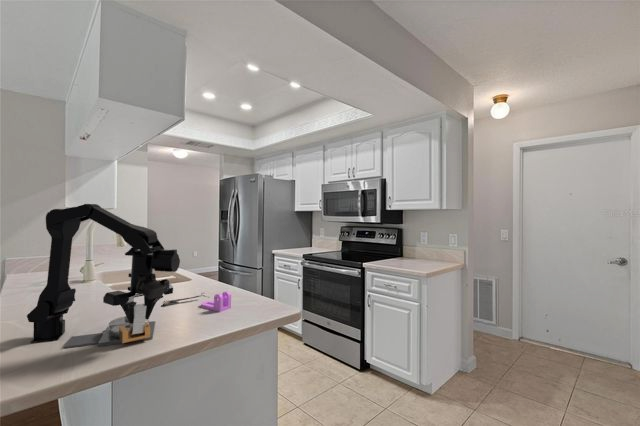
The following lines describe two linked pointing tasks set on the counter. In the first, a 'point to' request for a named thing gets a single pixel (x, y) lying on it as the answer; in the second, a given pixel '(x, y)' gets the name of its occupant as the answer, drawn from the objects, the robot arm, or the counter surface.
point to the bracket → (219, 302)
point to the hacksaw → (179, 300)
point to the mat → (83, 340)
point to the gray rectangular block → (138, 319)
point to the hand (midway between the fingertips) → (139, 321)
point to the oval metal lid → (127, 330)
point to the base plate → (111, 340)
